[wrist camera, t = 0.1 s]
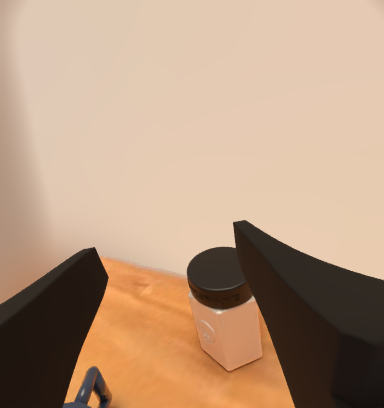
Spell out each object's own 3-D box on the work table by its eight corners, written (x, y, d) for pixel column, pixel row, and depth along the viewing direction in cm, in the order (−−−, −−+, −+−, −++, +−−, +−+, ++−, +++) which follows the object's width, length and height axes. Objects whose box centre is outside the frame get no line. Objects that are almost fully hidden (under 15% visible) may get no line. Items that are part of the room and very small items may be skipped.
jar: (188, 340, 28) (170, 271, 24) (223, 301, 33) (212, 240, 29) (244, 389, 22) (231, 306, 18) (276, 332, 27) (271, 258, 23)
